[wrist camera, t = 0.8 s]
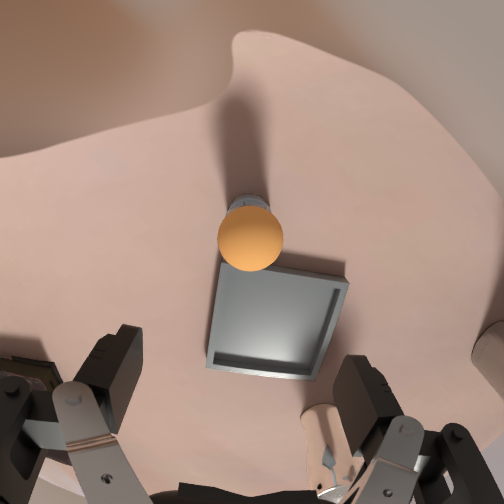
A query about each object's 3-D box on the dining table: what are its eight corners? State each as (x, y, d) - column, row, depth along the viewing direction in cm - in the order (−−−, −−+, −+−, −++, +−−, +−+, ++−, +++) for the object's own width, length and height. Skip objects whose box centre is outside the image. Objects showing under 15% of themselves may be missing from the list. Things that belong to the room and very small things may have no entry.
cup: (274, 198, 32) (281, 211, 25) (265, 238, 33) (270, 261, 27) (231, 190, 32) (227, 201, 25) (224, 231, 33) (219, 252, 26)
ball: (285, 206, 26) (294, 220, 21) (273, 262, 27) (278, 286, 23) (225, 196, 26) (220, 206, 21) (216, 253, 27) (210, 275, 22)
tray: (344, 277, 35) (349, 283, 33) (312, 372, 39) (314, 380, 38) (222, 256, 34) (221, 262, 32) (206, 359, 38) (205, 367, 36)
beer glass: (293, 408, 41) (307, 493, 27) (339, 395, 41) (366, 477, 27) (302, 434, 44) (315, 511, 29) (344, 422, 43) (367, 497, 29)
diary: (40, 438, 47) (32, 453, 43) (-11, 348, 40) (-26, 363, 35) (109, 456, 47) (102, 474, 42) (59, 361, 39) (44, 380, 34)
